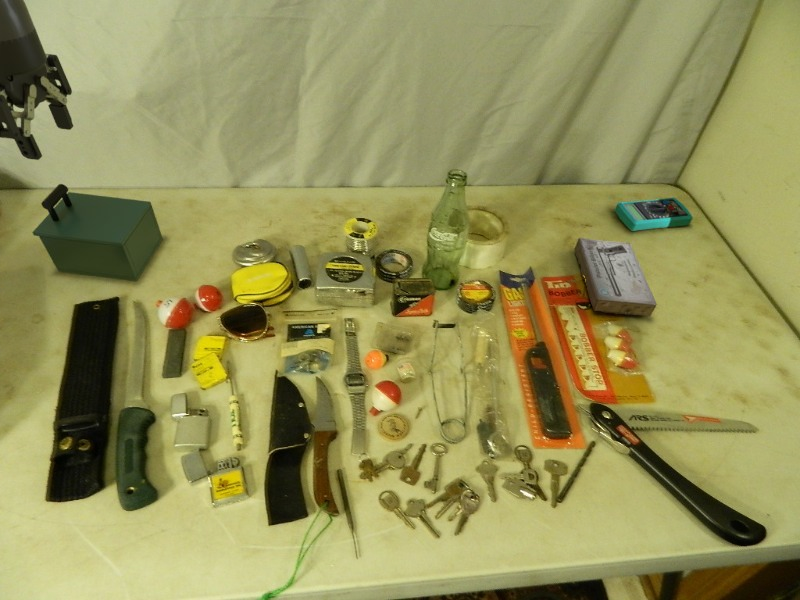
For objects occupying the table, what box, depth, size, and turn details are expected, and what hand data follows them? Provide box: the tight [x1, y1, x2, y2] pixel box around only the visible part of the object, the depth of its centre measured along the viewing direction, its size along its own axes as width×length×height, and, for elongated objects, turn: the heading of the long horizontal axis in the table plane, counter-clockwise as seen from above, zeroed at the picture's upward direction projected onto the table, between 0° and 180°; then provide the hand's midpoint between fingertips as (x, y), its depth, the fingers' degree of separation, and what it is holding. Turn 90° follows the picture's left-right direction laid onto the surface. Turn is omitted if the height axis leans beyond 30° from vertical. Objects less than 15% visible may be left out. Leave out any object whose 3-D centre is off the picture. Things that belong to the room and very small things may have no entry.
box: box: [574, 237, 658, 318], centre depth 97 cm, size 11×17×3 cm, turn 178°
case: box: [38, 204, 164, 282], centre depth 91 cm, size 14×11×8 cm
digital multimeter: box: [614, 197, 694, 232], centre depth 112 cm, size 7×15×3 cm, turn 103°
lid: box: [32, 183, 152, 246], centre depth 86 cm, size 14×11×5 cm
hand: (50, 142), depth 78 cm, fingers open, 8 cm apart
